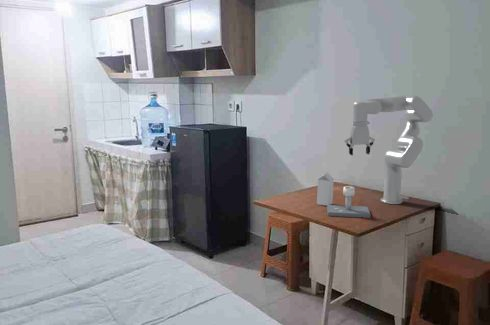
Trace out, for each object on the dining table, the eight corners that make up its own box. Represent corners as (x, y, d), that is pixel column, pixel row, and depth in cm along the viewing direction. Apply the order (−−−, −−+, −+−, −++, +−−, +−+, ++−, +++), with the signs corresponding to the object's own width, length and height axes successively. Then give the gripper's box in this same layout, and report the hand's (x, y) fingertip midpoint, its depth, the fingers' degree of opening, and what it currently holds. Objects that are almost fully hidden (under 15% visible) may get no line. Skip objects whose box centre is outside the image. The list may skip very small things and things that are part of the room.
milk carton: (332, 203, 252) (333, 172, 249) (328, 206, 246) (329, 174, 243) (321, 201, 256) (322, 170, 253) (316, 204, 250) (318, 172, 247)
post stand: (366, 210, 239) (367, 192, 238) (370, 218, 225) (371, 199, 223) (326, 208, 243) (327, 190, 241) (327, 215, 228) (328, 197, 226)
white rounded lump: (347, 192, 236) (348, 184, 235) (356, 195, 232) (357, 186, 231) (340, 194, 232) (341, 186, 232) (349, 196, 228) (350, 188, 227)
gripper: (372, 122, 242) (371, 152, 245) (342, 124, 240) (342, 154, 243) (377, 124, 235) (377, 154, 238) (347, 125, 233) (347, 156, 236)
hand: (359, 154), depth 241 cm, fingers open, 9 cm apart
